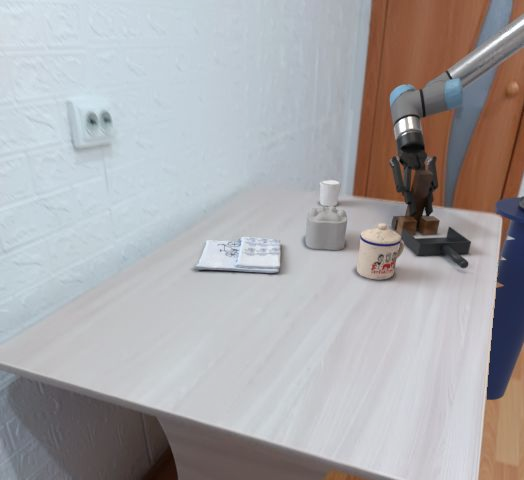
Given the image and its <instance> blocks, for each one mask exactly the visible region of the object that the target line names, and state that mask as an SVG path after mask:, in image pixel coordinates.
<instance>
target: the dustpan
mask: <svg viewBox="0 0 524 480" xmlns="http://www.w3.org/2000/svg"><path fill="white" fill-rule="evenodd" d="M400 237H401V240H402V241H403V242H404V246H406V247H407V248H408V249H409V250H410V251H411V252H412V253H414V254H415V255H416V256H435V255H439V256H441V255H445V256H446V257H447V258H449V260H451V261H452V262H454V264H456V266H458V267H460V268H461V269H466V268H468V267H469V265H470V263H469V261H468V259H465V258H464V257H463V256H462V255H465V254H469V251H470V249H471V244H472V241H471V240H469V239H468V238H466V237H465V236H464V235H463V234H461V233H460V232H458V231H457V230H455V229H454V228H453V227H451V226H448V229H447V234H446V237H421V238H417V237H415V236H414V235H411V234H410V233H409V232H408V231H406V230H405V229H404V228H403V230H402V235H400Z"/></svg>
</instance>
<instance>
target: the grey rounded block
mask: <svg viewBox="0 0 524 480" xmlns="http://www.w3.org/2000/svg"><path fill="white" fill-rule="evenodd" d="M347 225H348V216H347V212H346V210H345V209H338V208H337V207H336V206H323V205H319V206H318V207H316V208H310V209H309V210H308V212H307V215H306V227H305V238H304V239H305V245H306V247H308V248H309V249H311V250H328V251H330V250H331V251H339V250H342V249H344V248H345V243H346V235H347V227H348V226H347Z"/></svg>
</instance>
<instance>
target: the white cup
mask: <svg viewBox="0 0 524 480" xmlns="http://www.w3.org/2000/svg"><path fill="white" fill-rule="evenodd" d="M341 186H342V182H341V181H340V180H337V179H336V180H335V179H322V180H320V181H319V204H320V206H324V207H330V206H334V207H336V206H337V205H338V202H339V197H340V191H341Z"/></svg>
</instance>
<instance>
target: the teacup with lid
mask: <svg viewBox="0 0 524 480" xmlns="http://www.w3.org/2000/svg"><path fill="white" fill-rule="evenodd" d="M359 239H360V242H359V249H358V250H359V251H358V256H357V262H356V263H357V265H356V272H357V274H359V275H360V276H361V277H364V278H366V279H371V280H378V281H379V280H387V279H390V278H392V277H393V276H394V273H395V268H396V264H397V259H399V258H400V257H401V255H402V254H403V253H404V249H405V244H404V242H403V241H402V240H401V235H400V234H399V233H398V232H397V231H395V230H394V231H393V230H392V229H390V228H389V227H388V225H387V224H386V223H385V222H384V223H383V222H381V223H380V222H379V223H378V224H377V226H375V227H372V228H368V229H367V228H366V229H364V230H363V231H362V232H361V233H360V235H359Z"/></svg>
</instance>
